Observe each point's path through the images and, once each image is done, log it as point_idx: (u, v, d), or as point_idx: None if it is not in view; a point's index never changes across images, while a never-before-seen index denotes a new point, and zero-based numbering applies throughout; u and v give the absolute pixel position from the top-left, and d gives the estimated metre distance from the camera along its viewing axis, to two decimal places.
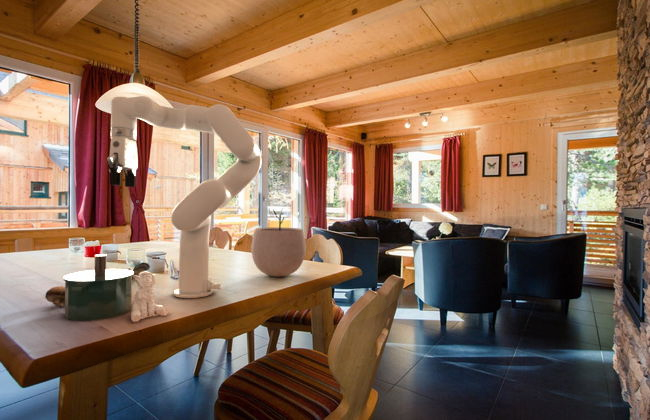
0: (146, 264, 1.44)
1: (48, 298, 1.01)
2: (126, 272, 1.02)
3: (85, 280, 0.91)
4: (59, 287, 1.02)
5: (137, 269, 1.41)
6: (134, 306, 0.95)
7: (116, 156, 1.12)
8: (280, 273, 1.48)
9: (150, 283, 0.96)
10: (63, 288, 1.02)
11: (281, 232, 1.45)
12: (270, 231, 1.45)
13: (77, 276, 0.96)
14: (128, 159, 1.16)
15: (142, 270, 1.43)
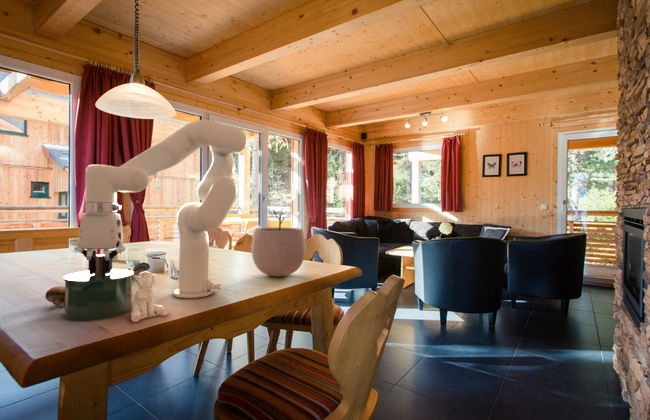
0: (146, 264, 1.44)
1: (48, 298, 1.01)
2: (126, 272, 1.02)
3: (85, 280, 0.91)
4: (59, 287, 1.02)
5: (137, 269, 1.41)
6: (134, 306, 0.95)
7: None
8: (280, 273, 1.48)
9: (150, 283, 0.96)
10: (63, 288, 1.02)
11: (281, 232, 1.45)
12: (270, 231, 1.45)
13: (77, 276, 0.96)
14: None
15: (142, 270, 1.43)
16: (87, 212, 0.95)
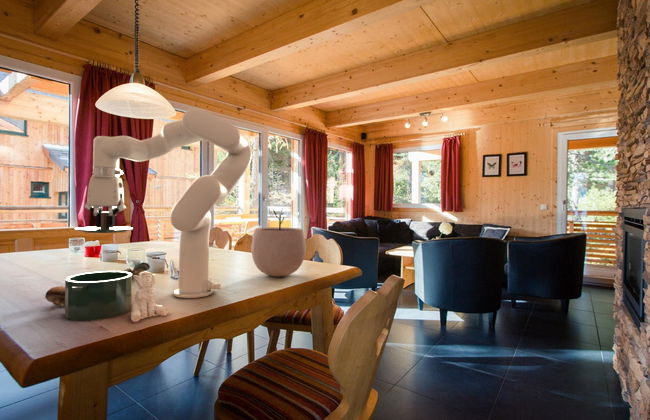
0: (146, 264, 1.44)
1: (48, 298, 1.01)
2: None
3: (93, 229, 1.11)
4: (59, 287, 1.02)
5: (137, 269, 1.41)
6: (134, 306, 0.95)
7: None
8: (280, 273, 1.48)
9: (150, 283, 0.96)
10: (63, 288, 1.02)
11: (281, 232, 1.45)
12: (270, 231, 1.45)
13: (86, 228, 1.16)
14: None
15: (142, 270, 1.43)
16: (94, 175, 1.15)
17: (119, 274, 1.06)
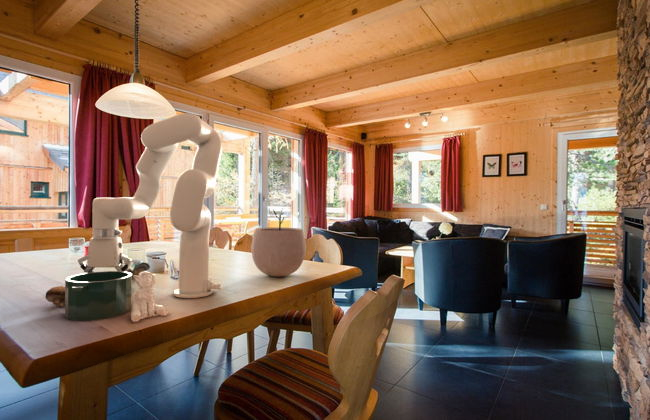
0: (146, 264, 1.44)
1: (48, 298, 1.01)
2: None
3: None
4: (59, 287, 1.02)
5: (137, 269, 1.41)
6: (134, 306, 0.95)
7: None
8: (280, 273, 1.48)
9: (150, 283, 0.96)
10: (63, 288, 1.02)
11: (281, 232, 1.45)
12: (270, 231, 1.45)
13: None
14: None
15: (142, 270, 1.43)
16: (94, 237, 1.16)
17: (119, 274, 1.06)
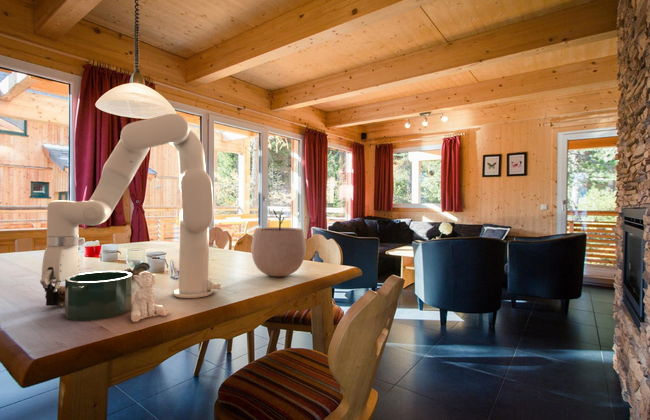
0: (146, 264, 1.44)
1: None
2: None
3: None
4: (59, 287, 1.02)
5: (137, 269, 1.41)
6: (134, 306, 0.95)
7: None
8: (280, 273, 1.48)
9: (150, 283, 0.96)
10: (63, 288, 1.02)
11: (281, 232, 1.45)
12: (270, 231, 1.45)
13: None
14: None
15: (142, 270, 1.43)
16: (70, 246, 1.02)
17: (119, 274, 1.06)
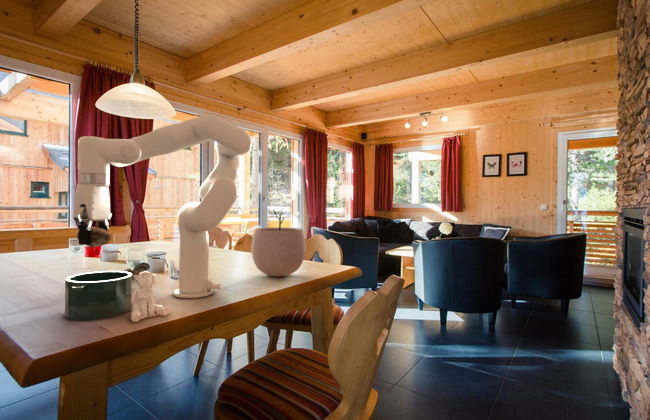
0: (146, 264, 1.44)
1: None
2: None
3: None
4: (91, 227, 0.98)
5: (137, 269, 1.41)
6: (134, 306, 0.95)
7: None
8: (280, 273, 1.48)
9: (150, 283, 0.96)
10: (95, 228, 0.99)
11: (281, 232, 1.45)
12: (270, 231, 1.45)
13: None
14: None
15: (142, 270, 1.43)
16: (102, 184, 0.98)
17: (119, 274, 1.06)
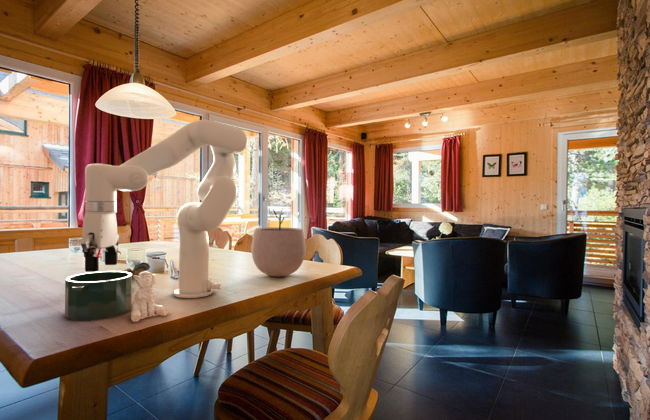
0: (146, 264, 1.44)
1: None
2: None
3: None
4: None
5: (137, 269, 1.41)
6: (134, 306, 0.95)
7: None
8: (280, 273, 1.48)
9: (150, 283, 0.96)
10: None
11: (281, 232, 1.45)
12: (270, 231, 1.45)
13: None
14: None
15: (142, 270, 1.43)
16: (110, 211, 0.98)
17: (119, 274, 1.06)
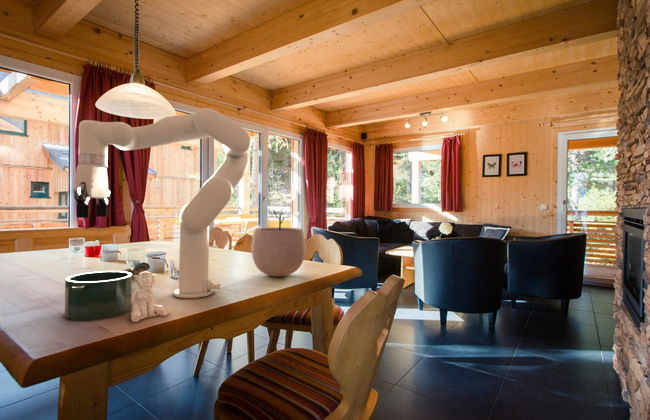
0: (146, 264, 1.44)
1: None
2: None
3: None
4: None
5: (137, 269, 1.41)
6: (134, 306, 0.95)
7: None
8: (280, 273, 1.48)
9: (150, 283, 0.96)
10: None
11: (281, 232, 1.45)
12: (270, 231, 1.45)
13: None
14: None
15: (142, 270, 1.43)
16: (101, 164, 1.06)
17: (119, 274, 1.06)
